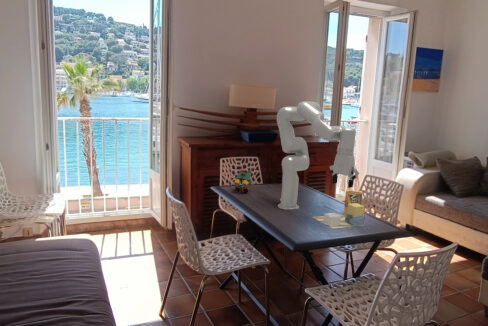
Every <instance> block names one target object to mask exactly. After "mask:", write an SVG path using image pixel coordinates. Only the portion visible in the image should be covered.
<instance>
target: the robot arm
mask: <svg viewBox="0 0 488 326" xmlns="http://www.w3.org/2000/svg"><path fill="white" fill-rule="evenodd" d="M324 120H325V114H324V112H322V108H321V105H320V104H319V103H318V102H316V101H307V100H306V101H305V100H303V101H300V102H299V103H298V104H297V105H296V106H291V105H290V106H283V107H281V108H280V109H279V110H278V112H277V114H276V123H277V127H278V130H279V137H280V142H281V144H280V145H281V148H282V152H284V153H285V154H289V155H286V156H285V157H284V158H282V160H281V169H282V170H281V171H282V180H281V182H282V183H281V196H280V198H279V201H280V203H279V204H277V207H278V208H279V209H280V210H284V211H287V210H299V209H300V205H298V204H297V203H298V194H299V192H298V191H299V182H300V181H299V179H300V178H299V175H298V172H300V171H301V172H302V171H306V170H308V168H309V166H310V157H309V156H310V155H309V149H308V144H307V142H306V140H305V139H304V138H303V137H301V136H296V134H295V129H294V127H293V125H292V124H291V122H304V121H307V122H308V123H309V124H311V127H312V129H313V132H314V133H315V134H316V135H317V136H318V137H320V138H321V139H322V140H324V141H326V142H328V141H329V142H330V141H332V142H333V141H338V142H339V143H338V148H336V152H337V153H336V154H335V158H334V161H333V164H332V165H329V170H330V174H331V176H332V179H331V180H332V181H331V184H332V185H333V184H338V177H339V176H338V175H341V176H346V177H348V184H347V188H348V189H350V188H353V187H354V182H355V179H356V178H358V176H359V174H360V172H359V171H358V170H357V169H356V168H355V166H356V165H355V156H354V152H355V144H356V135H357V132H356V129H355V128H353V127H346V126H345V127H344V126H342V125H328V124H326V122H324ZM290 154H292V155H290Z"/></svg>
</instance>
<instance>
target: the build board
mask: <svg viewBox="0 0 488 326" xmlns="http://www.w3.org/2000/svg"><path fill="white" fill-rule="evenodd" d="M338 215H339V216H341V219H340V226H328V225H327V224H325V223H323V222H324V215H319V216H312V218H313V219H315V220H316V221H319V222H320V223H322V224H323V225H325V226H327V227H329V228H331V229H342V228H343V229H344V228H351V227H361V226H362V227H363V226H365V220H366V219H365V217H366V216H365V214H364V215H363V216H352V215H350V214H348V213H345V216H344V214H338Z"/></svg>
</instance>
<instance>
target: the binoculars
mask: <svg viewBox="0 0 488 326" xmlns="http://www.w3.org/2000/svg"><path fill="white" fill-rule="evenodd" d="M251 172H252V171H251V170H247V172H245V170H243V169H241V170H240V172H238V174H237V175H236V178H235V180H234V184H233V185H234V191H235V192H236V191H239V192H238V193H241V192H243V193H244V192H246V193H245V194H249V192H250V191H252V190H253V189H254V187H255V184H254V183H252V180H251V176H252V175H251ZM241 182H242V183H241ZM240 184H241V185H242V186H241V185H240ZM248 184H250V185H252V186H253V187H252V188H250V187H249V186H248ZM249 190H250V191H249Z"/></svg>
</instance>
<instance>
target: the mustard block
mask: <svg viewBox="0 0 488 326" xmlns="http://www.w3.org/2000/svg"><path fill="white" fill-rule="evenodd" d="M347 213H348V214H350V215H352V216H363V215H364V216H365V214H364V213H365V206H364V205H362V204H361V205H360V204H358V203H352V204H348V206H347Z"/></svg>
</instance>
